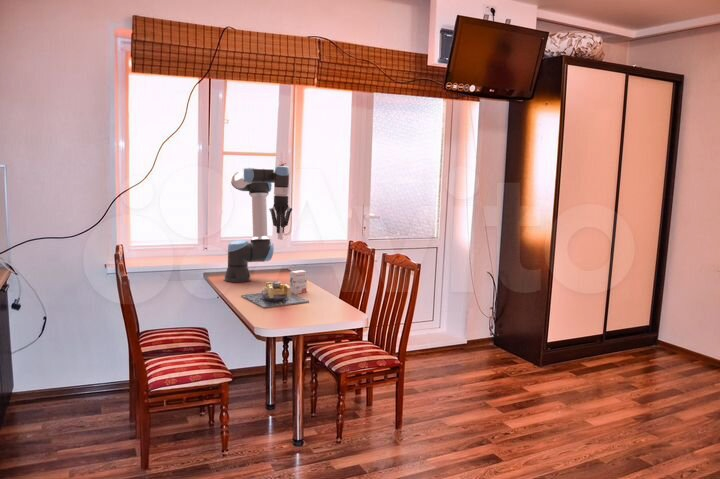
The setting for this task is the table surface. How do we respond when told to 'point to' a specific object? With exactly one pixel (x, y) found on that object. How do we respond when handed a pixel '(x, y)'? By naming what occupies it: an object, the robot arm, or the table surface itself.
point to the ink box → (298, 281)
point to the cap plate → (273, 303)
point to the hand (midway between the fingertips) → (280, 239)
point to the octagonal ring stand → (277, 289)
